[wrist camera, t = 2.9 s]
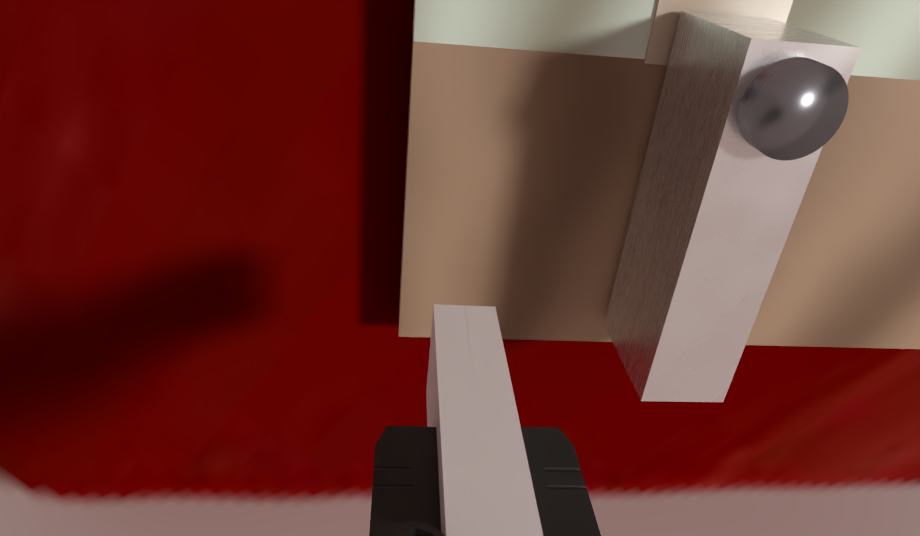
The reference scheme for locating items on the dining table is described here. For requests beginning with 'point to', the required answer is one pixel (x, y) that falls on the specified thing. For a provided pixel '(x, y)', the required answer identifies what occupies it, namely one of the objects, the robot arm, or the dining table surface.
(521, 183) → the board
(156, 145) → the dining table surface
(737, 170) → the bar
